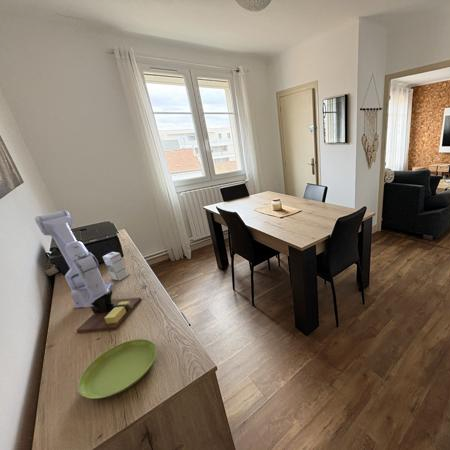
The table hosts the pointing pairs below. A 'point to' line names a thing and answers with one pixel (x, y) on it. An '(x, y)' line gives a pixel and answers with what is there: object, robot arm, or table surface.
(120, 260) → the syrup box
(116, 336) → the table surface
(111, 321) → the butter block
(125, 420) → the table surface
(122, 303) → the butter slice
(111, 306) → the knife
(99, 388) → the saucer
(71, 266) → the robot arm
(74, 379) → the table surface
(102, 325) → the cutting board
